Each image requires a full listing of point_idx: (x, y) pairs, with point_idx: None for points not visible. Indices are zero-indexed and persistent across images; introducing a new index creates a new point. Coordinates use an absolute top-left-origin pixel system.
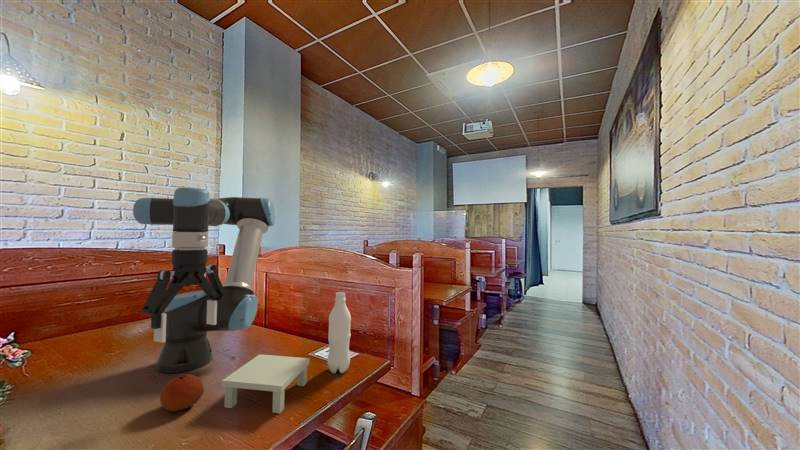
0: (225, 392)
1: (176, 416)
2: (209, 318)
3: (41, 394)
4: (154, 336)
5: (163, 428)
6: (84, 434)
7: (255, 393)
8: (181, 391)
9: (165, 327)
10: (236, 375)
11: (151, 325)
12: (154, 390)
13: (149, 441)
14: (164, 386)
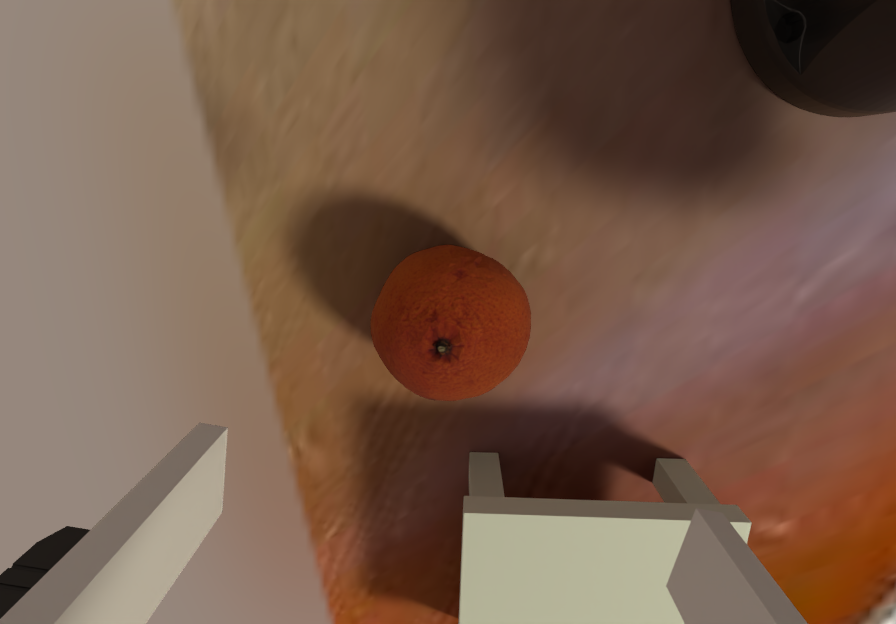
0: (471, 487)
1: None
2: (713, 584)
3: None
4: (176, 451)
5: (331, 342)
6: (244, 97)
7: None
8: (394, 376)
9: (146, 613)
10: (513, 542)
11: (25, 559)
12: (556, 72)
13: (271, 352)
14: (411, 277)
